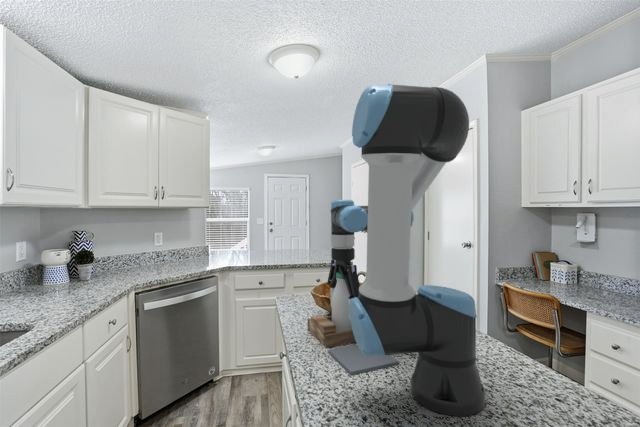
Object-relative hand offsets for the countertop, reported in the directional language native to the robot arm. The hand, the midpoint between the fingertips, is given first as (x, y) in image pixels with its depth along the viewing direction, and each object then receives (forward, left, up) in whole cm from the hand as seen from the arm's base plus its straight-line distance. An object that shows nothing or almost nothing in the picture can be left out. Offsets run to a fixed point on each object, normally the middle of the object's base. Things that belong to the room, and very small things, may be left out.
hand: (343, 312), depth 109 cm
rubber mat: (-18, +4, -7) cm, 20 cm away
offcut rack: (0, +2, -7) cm, 7 cm away
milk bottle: (0, 0, -7) cm, 7 cm away
